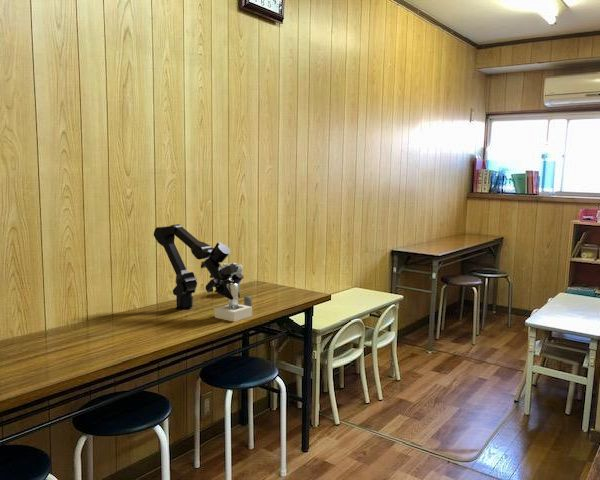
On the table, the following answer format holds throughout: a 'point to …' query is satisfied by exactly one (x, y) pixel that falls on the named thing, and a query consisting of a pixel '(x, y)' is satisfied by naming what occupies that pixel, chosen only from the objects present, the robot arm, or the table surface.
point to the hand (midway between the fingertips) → (235, 298)
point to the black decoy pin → (248, 301)
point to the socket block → (233, 312)
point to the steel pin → (234, 292)
